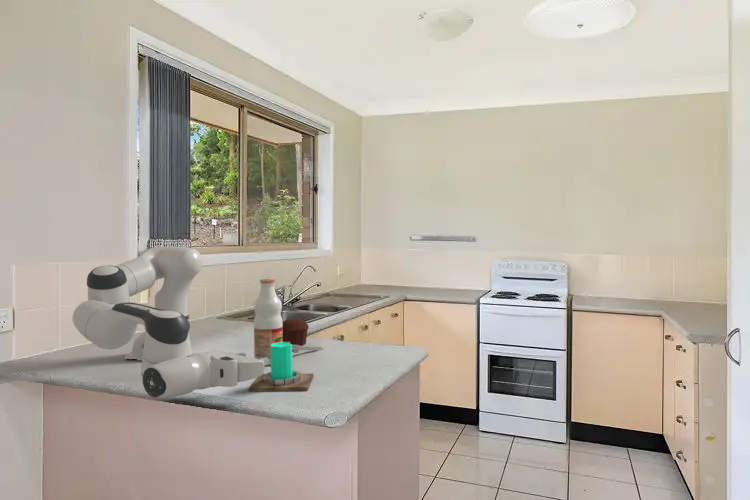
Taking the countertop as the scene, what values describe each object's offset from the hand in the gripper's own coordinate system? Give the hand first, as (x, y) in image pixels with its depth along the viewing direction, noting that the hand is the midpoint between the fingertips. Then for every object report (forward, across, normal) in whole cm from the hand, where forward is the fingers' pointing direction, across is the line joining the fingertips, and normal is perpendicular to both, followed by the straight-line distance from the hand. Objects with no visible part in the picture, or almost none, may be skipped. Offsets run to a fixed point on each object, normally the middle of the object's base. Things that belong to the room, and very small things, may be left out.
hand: (255, 358), depth 142 cm
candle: (+10, 0, -9) cm, 13 cm away
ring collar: (+10, 0, -9) cm, 14 cm away
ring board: (+10, 0, -9) cm, 14 cm away
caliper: (+40, -22, -10) cm, 47 cm away
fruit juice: (+24, -23, -10) cm, 35 cm away
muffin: (+49, -38, -10) cm, 63 cm away
